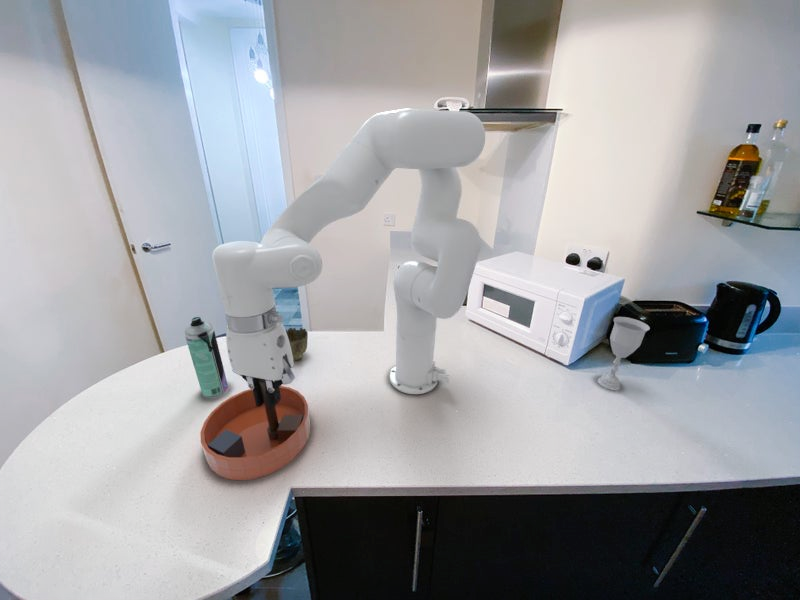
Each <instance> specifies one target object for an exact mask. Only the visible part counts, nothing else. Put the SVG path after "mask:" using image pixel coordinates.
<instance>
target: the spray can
mask: <svg viewBox="0 0 800 600" xmlns="http://www.w3.org/2000/svg"><path fill="white" fill-rule="evenodd" d="M184 337H185V341H186V344H187V347H188V351H189V354H190V357H191V361H192V364H193V368H194V371H195V374H196V378H197V382H198V384H199V388H200V392H201V395H202V397H203V398H206V399H214V398H218V397H220V396H222V395H224V394H225V393H226V392H228V390H229V384H228V381H227V377H226V372H225V369H224V365H223V359H222V356H221V352H220V348H219V344H218V340H217V336H216V331H215V328H214V327H213V324H212V323H210V322H206V321H204V320H202V318H201V317H200V316H194V317H193V318H192V319H191V322H190V324H189V326H187V327H186V328H185V329H184Z"/></svg>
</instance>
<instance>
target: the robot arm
mask: <svg viewBox="0 0 800 600" xmlns="http://www.w3.org/2000/svg"><path fill="white" fill-rule="evenodd" d="M485 144H486V130H485V127H484V124H483V122H482V120H481V119H480V118H479V116H477V115H476V114H474V113H472V112H470V111H462V110H461V111H460V110H439V109H438V110H437V109H423V108H421V109H420V108H401V109H396V110H389V111H384V112H383V111H382V112H379V113H376V114H374V115H372V116H371V117H369V118H367V120H365V122H364V123H363V124H362V126H361V127H360V128H358V131H357V132H356V133H355V134H354V135H353V137H352V138H351V139H350V141H349V142H348V143H347V144H346V146H345V147H344V148H343V149H342V150H341V152H340V153H339V155H338V156H337V157H336V159H335V160H334V161H333V162H332V163H331V165H330V166H329V167H328V168H327V170H326V171H325V172H324V173H323V174H322V175H321V177H319V178H318V179H317V180H316V181H314V182H313V183H312V184H311V185H309V186H308V188H306V189H305V190H304V191H303V192H301V193H300V194H299V195H298V196H296V197H295V198H294V199H293V200H292V201H291V202H290V203H289V204H288V205H287V206H286V207H285V208H284V209H283V211H282V212H281V213H280V214H279V215H278V216H277V217H276V219H275V220H274V221H273V223H272V224H271V226H270V227H269V228H268V229H267V231H266V232H265V233H264V235H263V237H262V238H261V241H260V243H259V242H256V241H252V240H251V241H249V240H239V241H229V242H225V243H222V244H220V245H217V246H216V247H215V248H214V249H213V252H212V262H213V263H212V264H213V266H214V271H215V275H216V276H215V277H216V280H217V284H218V289H219V292H220V296H221V297H220V298H221V301H222V305H223V310H224V314H225V319H226V330H225V337H226V338H225V339H226V347H227V355H228V361H229V364H230V367H231V370H232V372H233V373H234V374H236V375H238V376H240V377H241V378H242V379H243V380H244V381H245V382H246V383H247V386H248V389H253V394H254V399H255V403H256V406H257V407H260V406H261V405H262V404H263V403H264V402H263V397H262V393H261V388H260V384H259V379H260V378H261V379H265V380H266V386H267V391H266V393H265V395H266V401H267V406H268V408H269V409H271V410H272V409H273V408H274V407H275V405H276V404H277V403H278V402H279V401H280V400H281V394H280V388H279V386H283V385H289V384H292V383H293V381H294V380H295V379H296V376H295V375H294V373H293V370H292V368H293V367H294V366H295V363H294V360H293V356H292V351H291V346H290V342H289V339H288V336H287V333H286V330H287V329H286V328H285V325H284V324H283V315H282V314H278V313H277V308H276V302H275V298H274V297H275V296H274V289H276V288H299V287H300V288H301V287H305V286H307V285H309V284H312V283H313V282H315V281H316V280H317V279H318V278H319V276H320V275H321V273H322V270H323V259H322V256H321V254H320V253H319V251H318V250H317V249H316V248H315V247H314V246H313V245H312V244H310V243H311V242H312V240H314V238H315V237H316V236H317V235H318V234H319V232H321V231H322V230H323V229H324V228H326V227H327V226H329V225H330V224H332V223H334V222H336V221H339V220H342V219H345V218H348V217H352V216H353V215H356V214H358V213H360V212H361V211H363V210H364V209H365V208H366V207H367V205H368V204H369V203H370V201H371V200H372V199H373V198H374V196H375V195H376V193H377V192H378V191H379V189H380V188H381V187H382V186H383V184H384V183H385V181H386V180H387V179H388V178H389V177H390V175H391V174H392V173H393V171H394V170H396V169H405V170H418V171H419V172H418V173H419V176H420V180H421V181H420V184H421V187H420V193H419V200H418V204H417V208H416V213H415V216H414V221H413V225H412V228H411V232H410V233H411V234H410V246H411V248H412V250H413V251H414V252H416V253H417V254H418V255H420V256H422V257H424V258H426V259H429V260H432V261H434V262H437V266H434V265H432V264H430V263H427V262H424V261H421V260H415V259H414V260H408V261H405V262H403V263H402V264H401V265H400V266H399V267H398V268H397V269H396V272H395V274H394V279H393V292H394V297H395V304H396V335H395V336H396V338H395V339H396V340H395V365H394V366H393V367H392V368H391V370H390V371H389V382H390V384H391V385H392V387H393V388H394V389H396V390H397V391H399V392H401V393H405V394H408V395H421V394H426V393H429V392H430V391H432V390H433V389H435V387H436V386H437V384H438V381H439V382H443V383H450V378H451V375H450V374H446V373H447V369H445V368H438V367H437V366H436V361H435V360H434V356H435V346H436V345H435V344H436V333H437V321H438V319H441V320H447V319H451V318H452V317H454V316H456V315H457V313H459V311H460V310H461V308H463V305H464V303H465V300H466V297H467V294H468V291H469V290H470V289H469V288H470V285H471V282H472V279H473V275H474V272H475V268H476V265H477V263H478V258H479V256H480V255H479V254H480V251H481V237H480V236H481V235H480V233H479V229H477V227H476V225H475V224H473V223H472V222H470V221H469V220H467V219H466V220H465V219H462V218H458V212H459V208H460V203H461V198H462V193H463V189H462V188H463V187H462V179H461V177H460V176H461V175H460V173H459V171H458V168H463V167H467V166H470V165H471V164H473V163H474V162H475V161H476V160H477V159H478V158H479V157H480V156H481V154H482V152H483V150H484V148H485Z"/></svg>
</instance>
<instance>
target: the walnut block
mask: <svg viewBox="0 0 800 600" xmlns="http://www.w3.org/2000/svg"><path fill="white" fill-rule="evenodd" d="M303 418H304V417H303V415H283V417H282V420H281V422H280V424H279V427H278V429H277V434H278V439H279V445H280V444H281V443H283V442H285V441H286V440H287V439H288V438H289V437H290V436H291V435H293V434H294V433H295V432H296V430H297V429H298V427H299V426H300V425H301V423H302V421H303Z"/></svg>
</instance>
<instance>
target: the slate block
mask: <svg viewBox="0 0 800 600" xmlns="http://www.w3.org/2000/svg"><path fill="white" fill-rule="evenodd" d="M207 446H208V448H209V449H210V450H212V451H213V452H215V453H216V454H218V455H222V456H225V457H233V458H239V457H240V456H241V455H242V454H243V453H244V452H245V448H244V444H243V440H242V436H240V435H237V434H235V433H233V432H231V431H228V430H225V431H224V432H223V433H221V434H220V435H219V436H218V437H217V438H215V439H214V440H213V441H212V442H211V443H209V444H208V445H207Z"/></svg>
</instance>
